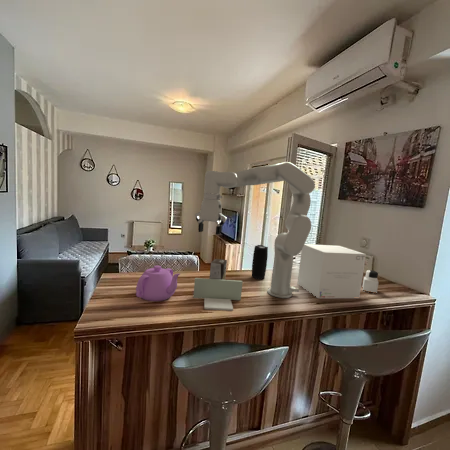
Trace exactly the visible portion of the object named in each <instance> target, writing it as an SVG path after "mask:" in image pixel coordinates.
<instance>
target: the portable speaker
mask: <svg viewBox="0 0 450 450" xmlns="http://www.w3.org/2000/svg"><path fill="white" fill-rule="evenodd" d="M268 250H269V246H265V245H264V244H263V245H262V244H257V245H254V248H253V256H252V262H251V263H252V264H251V277H252V278H254V279H255V280H260V281H261V280H262V279H265V277H266V272H267V266H268V264H267V263H268V257H269V256H268V252H269V251H268Z"/></svg>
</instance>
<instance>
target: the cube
mask: <svg viewBox="0 0 450 450" xmlns="http://www.w3.org/2000/svg"><path fill="white" fill-rule="evenodd" d="M366 258H367V253H365V252H364V253H363V252H360V251H358V250H355V249H351V248H349V247H345V246H342V245H335V244H334V245H331V244H330V245H329V244H311V243H310V244H309V243H305V244H304V247H303V249H302V250H301V252H300V258H299V259H300V260H299V267H298V277H297V283H296V284H297V285H298V284H299V285H298V286H299V287H301V286H302V287H303V288H302V287H301V288H302V289H304V290H305V289H306V291H307V292H308V291H309V292H308V293H309V294H311V293H312V294H313V296H314V297H315V296H316V297H315V298H317V299H355V298H354V297H359V298H361V296H360V295H361V289H362V285H363V279H364V271H365V263H366ZM312 294H311V295H312Z"/></svg>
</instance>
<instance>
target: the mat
mask: <svg viewBox="0 0 450 450" xmlns="http://www.w3.org/2000/svg"><path fill="white" fill-rule="evenodd" d="M203 303H204V304H203V306H204V310H214V311H215V310H216V311H234V306H233V303H232V300H231V299H215V298H203Z"/></svg>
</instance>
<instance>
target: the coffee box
mask: <svg viewBox="0 0 450 450" xmlns="http://www.w3.org/2000/svg"><path fill="white" fill-rule="evenodd" d="M227 263H228V259H222V258H214V259H213V260H212V261H211V262H210V271H209V278H208V279H220V280H226V272H227Z"/></svg>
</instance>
